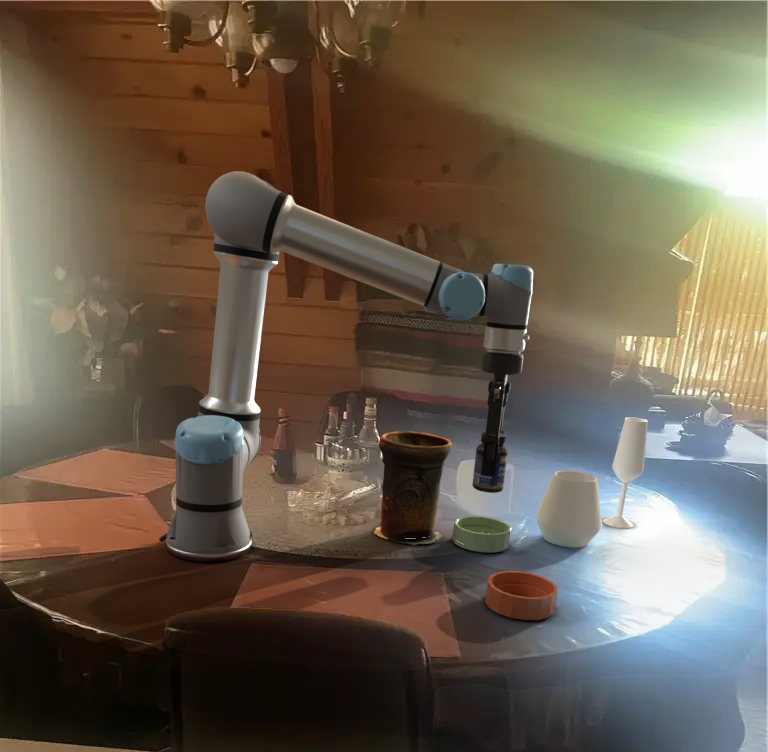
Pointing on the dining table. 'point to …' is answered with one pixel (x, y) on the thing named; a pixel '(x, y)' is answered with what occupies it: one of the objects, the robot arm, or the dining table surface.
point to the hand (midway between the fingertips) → (489, 471)
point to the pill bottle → (496, 482)
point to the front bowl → (521, 595)
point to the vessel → (411, 485)
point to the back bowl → (481, 534)
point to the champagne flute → (628, 462)
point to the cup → (570, 509)
